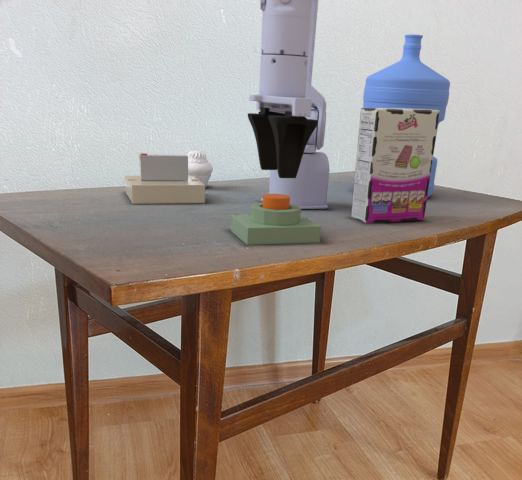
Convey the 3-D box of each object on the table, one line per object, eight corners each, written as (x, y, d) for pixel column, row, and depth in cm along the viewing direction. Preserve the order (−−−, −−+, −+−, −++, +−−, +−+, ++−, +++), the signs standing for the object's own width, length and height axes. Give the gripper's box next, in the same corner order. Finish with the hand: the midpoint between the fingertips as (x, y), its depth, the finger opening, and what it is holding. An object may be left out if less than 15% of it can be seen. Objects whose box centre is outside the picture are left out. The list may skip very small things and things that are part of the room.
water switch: (298, 229, 84) (300, 200, 83) (319, 242, 78) (322, 212, 76) (230, 230, 82) (231, 201, 80) (247, 245, 75) (248, 213, 73)
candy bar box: (405, 214, 98) (421, 108, 91) (424, 221, 94) (442, 110, 87) (347, 217, 94) (359, 106, 87) (365, 224, 90) (378, 107, 83)
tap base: (192, 191, 109) (192, 174, 107) (207, 204, 98) (207, 184, 97) (124, 192, 105) (123, 173, 104) (132, 205, 94) (131, 185, 93)
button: (283, 206, 80) (284, 193, 79) (293, 212, 77) (294, 198, 76) (258, 206, 79) (259, 193, 78) (267, 212, 76) (267, 198, 75)
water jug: (337, 191, 117) (353, 31, 105) (378, 184, 128) (396, 39, 116) (408, 203, 108) (434, 30, 96) (445, 195, 119) (472, 39, 107)
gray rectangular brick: (186, 179, 102) (186, 153, 100) (188, 180, 101) (188, 154, 99) (139, 179, 100) (138, 152, 98) (141, 180, 98) (140, 153, 97)
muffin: (174, 187, 112) (173, 148, 109) (191, 183, 117) (191, 146, 114) (202, 191, 110) (202, 151, 107) (218, 187, 115) (219, 149, 112)
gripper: (235, 55, 76) (232, 165, 81) (272, 52, 63) (265, 182, 69) (287, 59, 78) (281, 166, 83) (332, 56, 65) (321, 182, 71)
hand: (277, 173), depth 76 cm, fingers open, 7 cm apart
